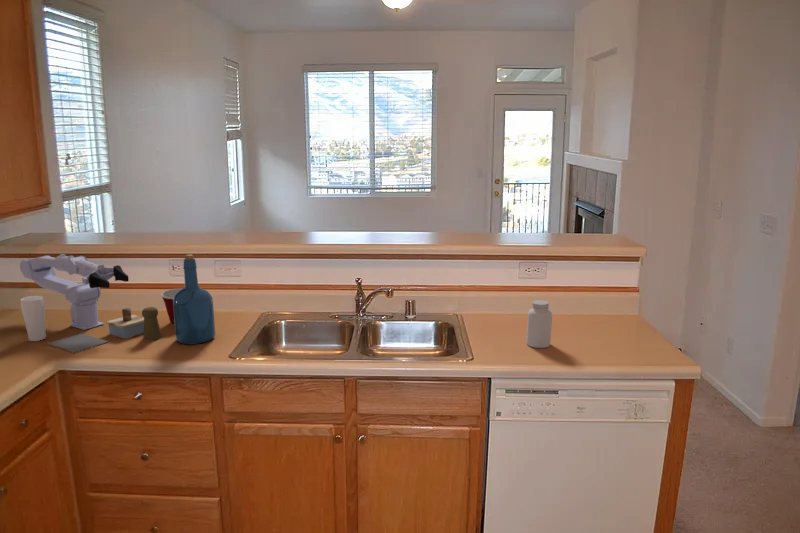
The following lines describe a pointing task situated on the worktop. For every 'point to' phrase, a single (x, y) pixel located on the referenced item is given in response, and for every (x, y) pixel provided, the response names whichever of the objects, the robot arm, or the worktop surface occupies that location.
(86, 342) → the mat
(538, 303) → the pill bottle
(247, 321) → the worktop surface
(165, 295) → the plastic cup
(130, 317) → the lid
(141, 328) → the dish
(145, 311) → the olive green shaker
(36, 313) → the drinking glass
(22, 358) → the worktop surface
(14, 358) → the worktop surface
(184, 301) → the wine bottle
